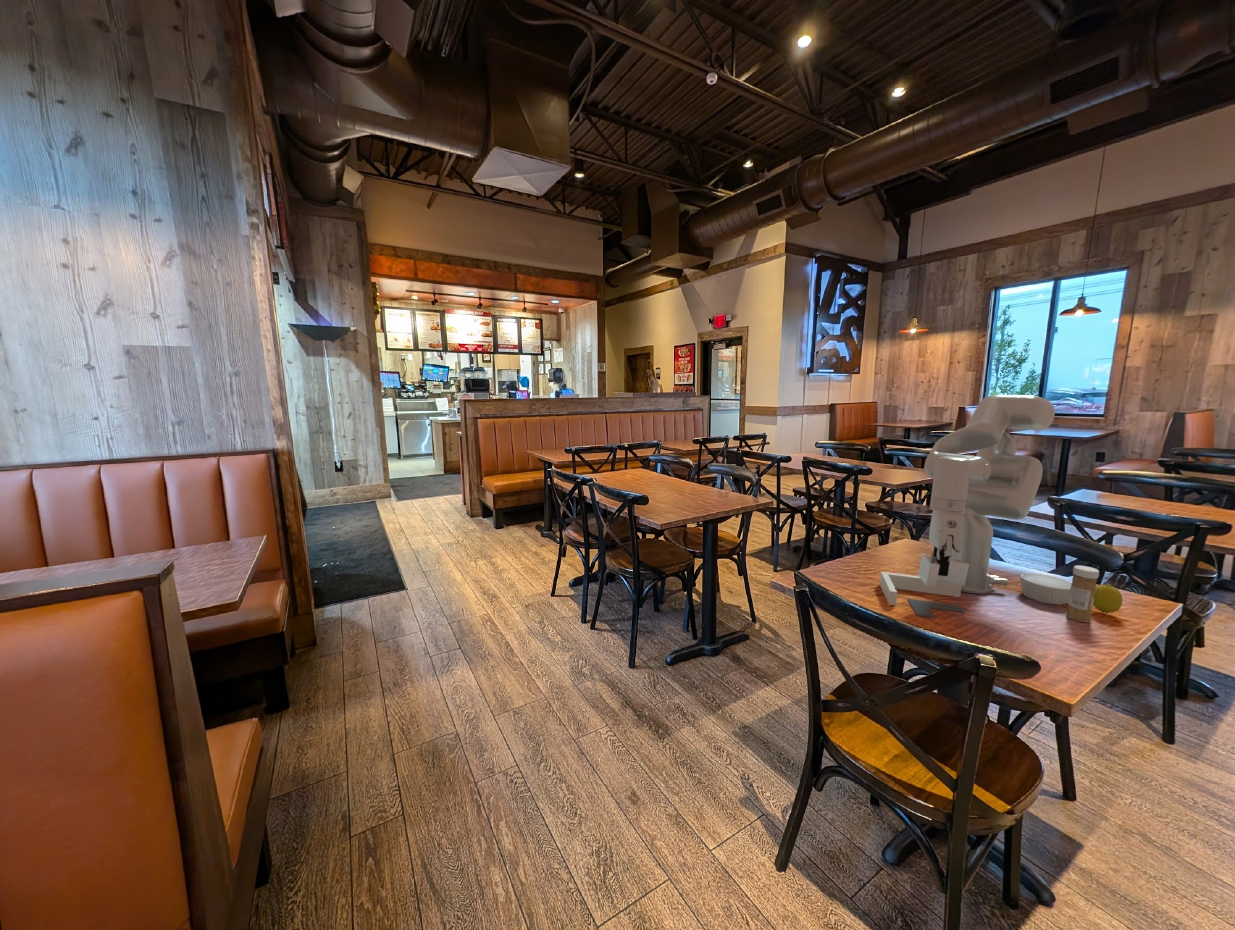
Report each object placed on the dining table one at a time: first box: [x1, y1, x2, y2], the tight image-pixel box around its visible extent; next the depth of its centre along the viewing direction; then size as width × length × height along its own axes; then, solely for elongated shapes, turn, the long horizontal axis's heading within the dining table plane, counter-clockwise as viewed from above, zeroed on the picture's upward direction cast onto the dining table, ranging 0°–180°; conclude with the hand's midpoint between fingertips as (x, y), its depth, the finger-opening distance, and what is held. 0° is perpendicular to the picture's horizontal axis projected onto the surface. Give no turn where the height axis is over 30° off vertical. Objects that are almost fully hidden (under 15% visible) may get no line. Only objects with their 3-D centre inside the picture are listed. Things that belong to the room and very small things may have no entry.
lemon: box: [1093, 583, 1123, 614], centre depth 121 cm, size 6×6×8 cm
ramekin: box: [1019, 572, 1072, 605], centre depth 130 cm, size 11×11×5 cm
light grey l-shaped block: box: [879, 571, 962, 607], centre depth 128 cm, size 20×15×4 cm
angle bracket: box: [917, 553, 969, 588], centre depth 120 cm, size 10×8×6 cm
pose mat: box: [907, 598, 966, 619], centre depth 122 cm, size 12×10×1 cm
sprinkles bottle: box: [1065, 565, 1100, 623], centre depth 118 cm, size 5×5×14 cm
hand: (938, 572), depth 123 cm, fingers closed on angle bracket
